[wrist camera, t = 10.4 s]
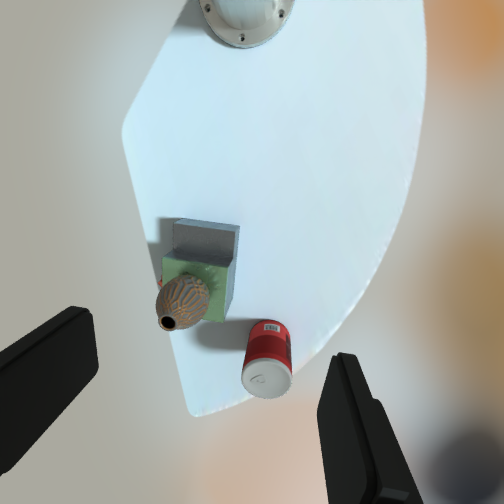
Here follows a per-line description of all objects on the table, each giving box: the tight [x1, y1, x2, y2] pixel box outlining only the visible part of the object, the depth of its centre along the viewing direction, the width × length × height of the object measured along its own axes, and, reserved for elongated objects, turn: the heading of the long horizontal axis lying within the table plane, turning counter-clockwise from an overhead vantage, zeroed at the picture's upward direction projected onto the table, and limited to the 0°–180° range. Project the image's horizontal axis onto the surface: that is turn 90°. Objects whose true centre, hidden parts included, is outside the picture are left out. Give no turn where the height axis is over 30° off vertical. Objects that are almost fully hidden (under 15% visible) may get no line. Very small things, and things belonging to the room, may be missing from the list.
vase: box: [156, 275, 210, 331], centre depth 34 cm, size 7×7×9 cm
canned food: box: [241, 320, 292, 399], centre depth 43 cm, size 8×8×11 cm
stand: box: [158, 218, 240, 323], centre depth 41 cm, size 14×11×8 cm
